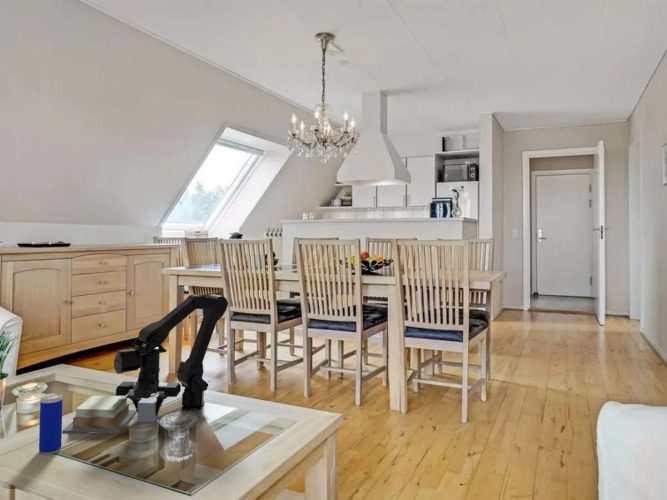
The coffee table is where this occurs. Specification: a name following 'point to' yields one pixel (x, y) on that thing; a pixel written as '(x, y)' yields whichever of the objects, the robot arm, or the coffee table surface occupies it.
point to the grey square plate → (102, 430)
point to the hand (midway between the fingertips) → (148, 415)
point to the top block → (147, 410)
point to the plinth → (100, 420)
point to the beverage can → (50, 423)
